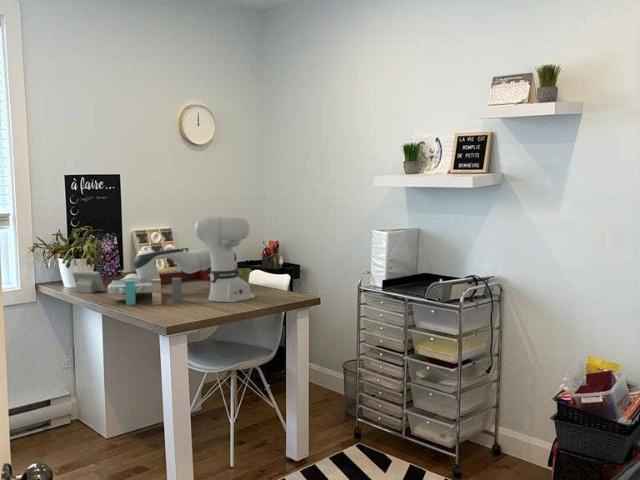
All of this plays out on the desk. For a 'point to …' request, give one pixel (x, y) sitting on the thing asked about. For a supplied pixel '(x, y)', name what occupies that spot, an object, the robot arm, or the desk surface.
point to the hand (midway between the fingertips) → (130, 291)
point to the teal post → (130, 292)
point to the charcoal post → (176, 290)
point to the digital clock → (88, 281)
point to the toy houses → (183, 274)
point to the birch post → (156, 291)
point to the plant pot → (244, 274)
